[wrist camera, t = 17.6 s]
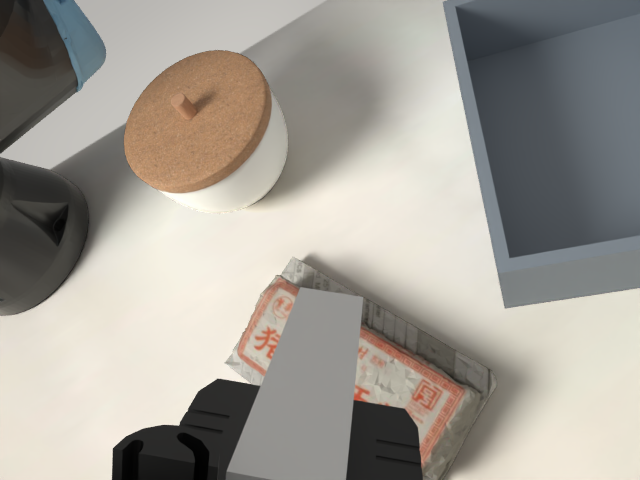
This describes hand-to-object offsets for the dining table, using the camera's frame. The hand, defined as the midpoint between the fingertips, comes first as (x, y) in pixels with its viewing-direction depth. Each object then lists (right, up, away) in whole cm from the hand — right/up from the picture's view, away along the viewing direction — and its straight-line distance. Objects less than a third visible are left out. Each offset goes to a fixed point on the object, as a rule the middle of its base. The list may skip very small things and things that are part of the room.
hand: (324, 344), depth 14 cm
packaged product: (+2, -7, +28) cm, 29 cm away
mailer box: (+20, +9, +28) cm, 35 cm away
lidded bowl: (-7, +9, +38) cm, 40 cm away
